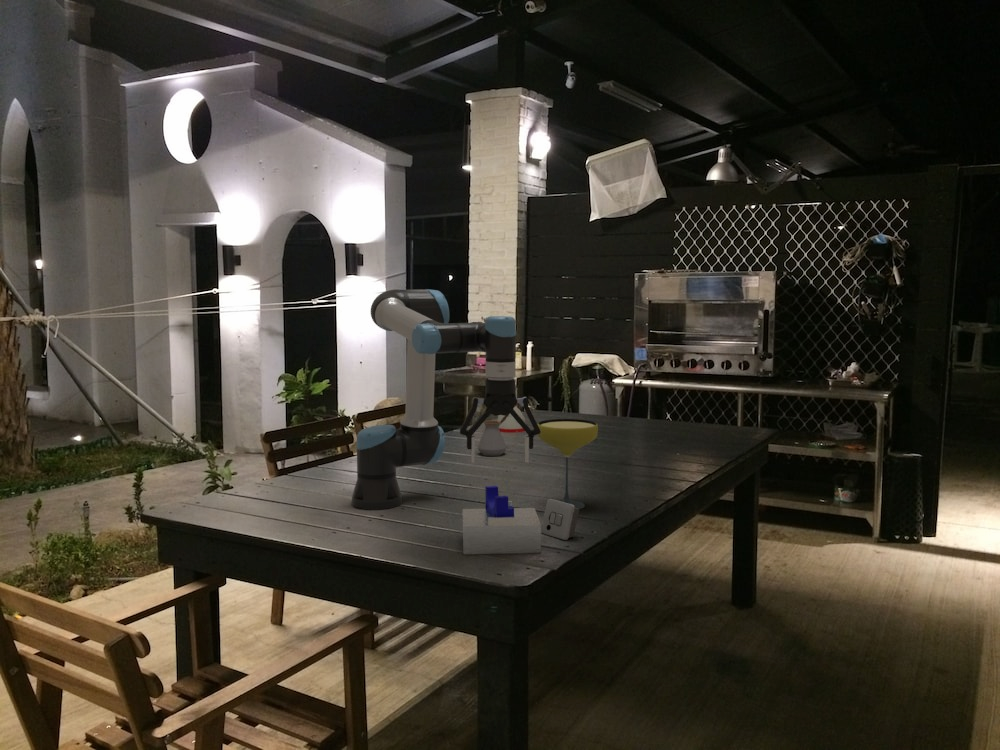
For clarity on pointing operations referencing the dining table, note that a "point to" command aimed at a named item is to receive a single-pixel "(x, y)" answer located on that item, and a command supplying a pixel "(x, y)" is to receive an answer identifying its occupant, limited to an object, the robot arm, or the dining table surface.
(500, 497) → the blue stepped piece
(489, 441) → the coffee pot
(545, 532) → the electrical switch
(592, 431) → the cocktail glass
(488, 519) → the white boxy block
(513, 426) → the kitchen timer
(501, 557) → the dining table surface
